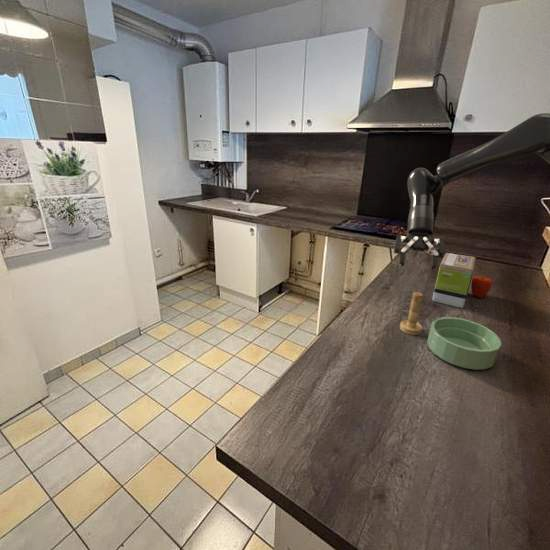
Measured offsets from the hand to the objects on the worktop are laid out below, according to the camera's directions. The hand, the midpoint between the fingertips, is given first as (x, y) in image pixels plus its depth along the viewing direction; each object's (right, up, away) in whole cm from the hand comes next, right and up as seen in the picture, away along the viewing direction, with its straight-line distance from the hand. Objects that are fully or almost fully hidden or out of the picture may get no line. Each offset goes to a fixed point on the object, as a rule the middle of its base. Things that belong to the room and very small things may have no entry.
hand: (417, 266), depth 90 cm
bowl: (+5, -23, -11) cm, 26 cm away
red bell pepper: (+32, -11, +19) cm, 39 cm away
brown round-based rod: (-3, -19, -2) cm, 19 cm away
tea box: (+21, -11, +18) cm, 30 cm away
